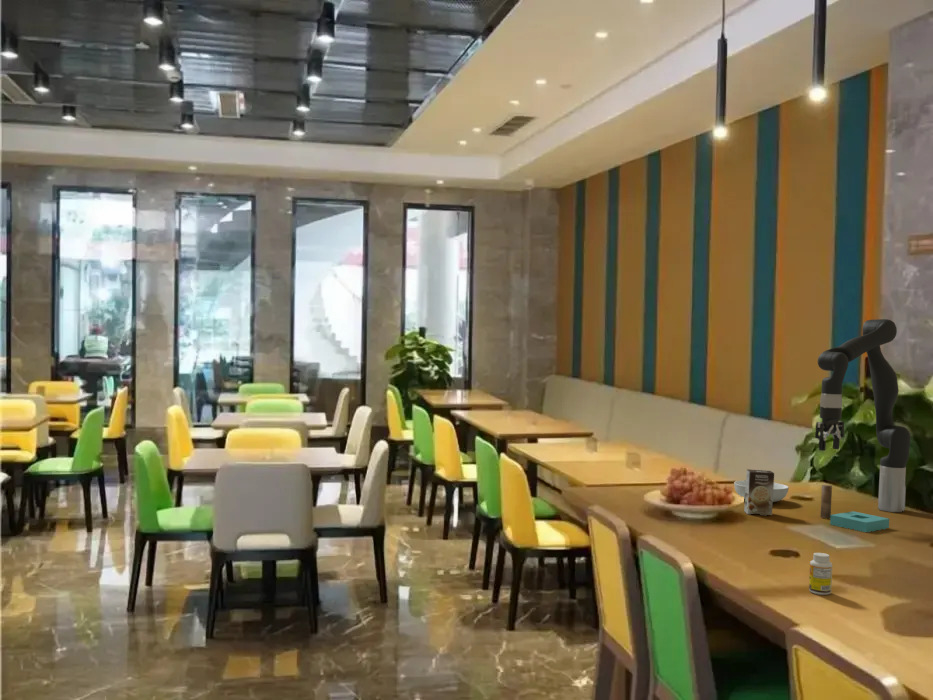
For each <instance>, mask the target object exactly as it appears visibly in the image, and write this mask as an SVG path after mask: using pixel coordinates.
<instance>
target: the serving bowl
mask: <svg viewBox="0 0 933 700" xmlns="http://www.w3.org/2000/svg"><path fill="white" fill-rule="evenodd" d="M733 483H734V484H733V486H734V490H735V492H736V494H737V495H738V496H739V495H740V496H739V497H741V496H743V497H744V498H743V499H745V490H746V479H745V480H736V481H734V482H733ZM788 493H789V486H788V485H785V484H783V483H779V482H778V483H777V482H774V487H773V503H775V502H779V501H781V500H784V499H785V497H786V496H787V494H788Z"/></svg>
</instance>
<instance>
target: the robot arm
mask: <svg viewBox="0 0 933 700" xmlns="http://www.w3.org/2000/svg"><path fill="white" fill-rule="evenodd" d="M862 325H863V326H862V330H861V331H862V335H859V336H856V337H853V338H850V339H849V340H847V341H845V342H843V343H842V344H840V345H839V346H836V347H832V348H829V349H826V350H824V351H823V352H821V353H820V355H819V356H818V358H817V366H818V367H819V368H820V369H821V370H822V371H828V372H829V371H830V372H832V374H831V376H829V377H824V378H822V380H821V392H820V393H821V395H820V400H819V401H820V402H819V418H820V419H821V420H822V421H821V422H820V421H817V422H816V423H815V434H814V437H815V439H817V440H818V450H819V451H822V452H824V451H826V446H827V445H826V444H827V443H826V441H827V437H829V436H830V435H831V436H832V438H833V439H832V449H834V450H839V449H840V442H841V441H840V440H841V439H842V438H844V437H845V421H843V420H842V417H843V416H842V412H843V396H842V395H843V394H842V392H843V382H844V379H845V376H846V373H847V370H848V366H849V363H851V362H852V361H854V360H855V359H857V358H859V357H860V356H862V355H863V354H865V353H866V355H867V360H868V366H869V371H870V378H871V379H870V381H871V382H870V383H871V388H872V394H873V400H874V410H875V431H876V439H877V441H878V444H879V445H880V446H881V447H884V448H886V449H889V452H888V455H886V456H882V457H881V458H880V462H879V481H878V504H877V509H878V510H879V511H883V512H889V513H891V512H892V513H902V511H903V512H904V511H905V510H906V508H905V507H906V506H905V505H906V492H907V491H906V490H907V487H906V473H907V470H906V469H907V463H908V461H909V456H910V449H911V434H910V431H909V430H908V429H907V428H906V427H905V426H901V425H895V423H894V420H893V419H894V418H893V409H894V406H895V403H896V401H897V399H898V395H899V383H898V376H897V373H896V371H895V369H894V368H893V366H891V364H890V363H889V361H887V360H886V358H885V357H884V354H883V352H882V348H881V346H882V345H885V344H888V343H891V342H892V341H894V340H895V338H896V337H897V333H898V332H897V324H896V323H895V322H894V321H893V320H891V319H885V318H883V319H881V318H880V319H868V320H865V321H864V323H863V324H862Z"/></svg>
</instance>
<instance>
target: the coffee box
mask: <svg viewBox="0 0 933 700" xmlns="http://www.w3.org/2000/svg"><path fill="white" fill-rule="evenodd" d="M745 480H746V490H745V498H744V506H743V508H744V509H743V510H744V513H746V514H747V515H751V514H760V515H759V516H767V515H772V516H773V503H774V502H773V487H774V483H775V472H773V471H771V470H762V469H750V468H749V469H748V468H746V477H745Z"/></svg>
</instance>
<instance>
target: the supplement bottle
mask: <svg viewBox="0 0 933 700" xmlns="http://www.w3.org/2000/svg"><path fill="white" fill-rule="evenodd" d="M812 558H813V559H812V560H810V561H809V575H808V576H809V577H808V578H809V582H808V583H809V584H808V589H809V592H810V593H812V594H815V595H819V596H820V595H821V596H828V595H830V594H831V593H832V583H833V582H832V581H833V580H832V579H833V563H832V562H831V561H830V555H829V554H828V553H823V552H813V556H812Z"/></svg>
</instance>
